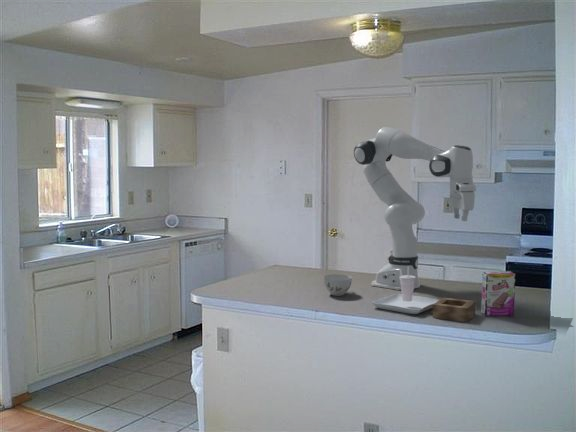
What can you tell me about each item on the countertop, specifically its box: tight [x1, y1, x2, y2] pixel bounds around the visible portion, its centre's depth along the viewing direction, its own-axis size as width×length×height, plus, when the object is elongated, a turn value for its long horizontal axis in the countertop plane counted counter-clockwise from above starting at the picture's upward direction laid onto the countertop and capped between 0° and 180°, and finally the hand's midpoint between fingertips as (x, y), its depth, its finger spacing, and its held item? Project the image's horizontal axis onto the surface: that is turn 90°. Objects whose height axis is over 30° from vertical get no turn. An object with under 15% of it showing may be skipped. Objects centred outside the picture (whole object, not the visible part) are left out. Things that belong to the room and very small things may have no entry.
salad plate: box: [371, 293, 440, 315], centre depth 243 cm, size 21×21×3 cm
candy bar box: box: [480, 270, 516, 317], centre depth 229 cm, size 11×5×16 cm, turn 92°
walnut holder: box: [432, 297, 476, 323], centre depth 229 cm, size 13×13×5 cm
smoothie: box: [399, 266, 416, 302], centre depth 242 cm, size 6×6×14 cm
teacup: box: [323, 273, 353, 297], centre depth 266 cm, size 15×12×8 cm
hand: (460, 219), depth 246 cm, fingers open, 8 cm apart
